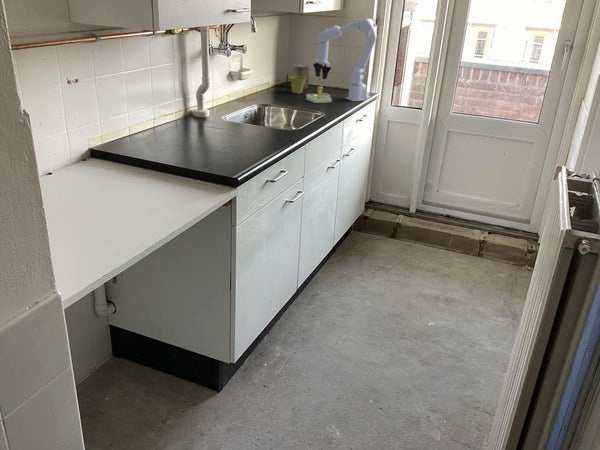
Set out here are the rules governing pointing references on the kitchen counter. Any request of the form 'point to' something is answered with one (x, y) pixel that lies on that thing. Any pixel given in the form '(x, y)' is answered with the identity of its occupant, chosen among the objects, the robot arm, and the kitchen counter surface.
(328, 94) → the tensioner socket
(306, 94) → the idler pulley
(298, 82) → the plant pot
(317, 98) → the lock pin
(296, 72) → the pillar candle
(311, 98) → the tray
